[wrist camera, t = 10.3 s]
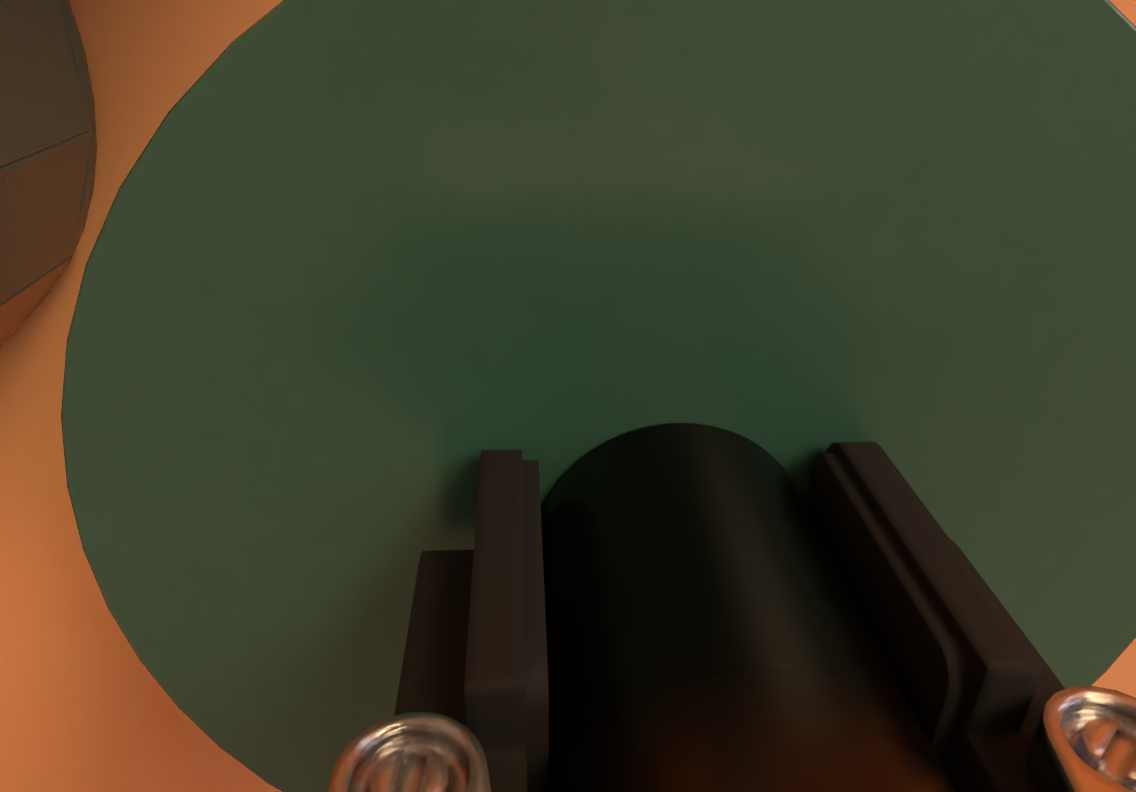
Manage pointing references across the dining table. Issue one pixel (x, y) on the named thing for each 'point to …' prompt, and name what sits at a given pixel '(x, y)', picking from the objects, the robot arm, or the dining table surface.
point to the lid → (614, 361)
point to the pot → (41, 151)
